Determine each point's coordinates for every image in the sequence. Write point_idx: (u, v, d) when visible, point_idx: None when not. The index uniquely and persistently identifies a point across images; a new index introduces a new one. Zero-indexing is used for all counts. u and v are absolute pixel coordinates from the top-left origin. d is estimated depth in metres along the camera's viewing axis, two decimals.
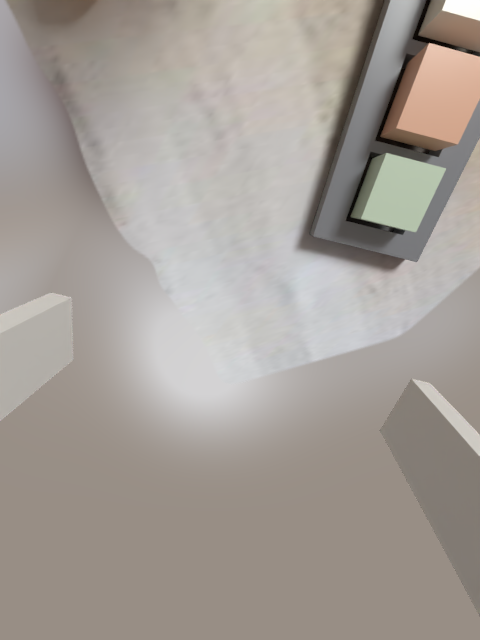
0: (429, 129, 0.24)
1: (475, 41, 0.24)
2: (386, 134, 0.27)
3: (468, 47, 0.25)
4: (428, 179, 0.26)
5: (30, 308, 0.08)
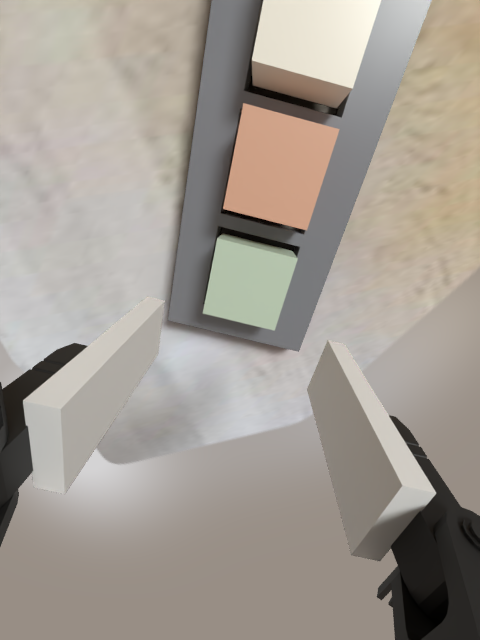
0: (266, 211, 0.18)
1: (321, 97, 0.18)
2: None
3: (319, 102, 0.18)
4: (277, 270, 0.20)
5: (142, 310, 0.10)
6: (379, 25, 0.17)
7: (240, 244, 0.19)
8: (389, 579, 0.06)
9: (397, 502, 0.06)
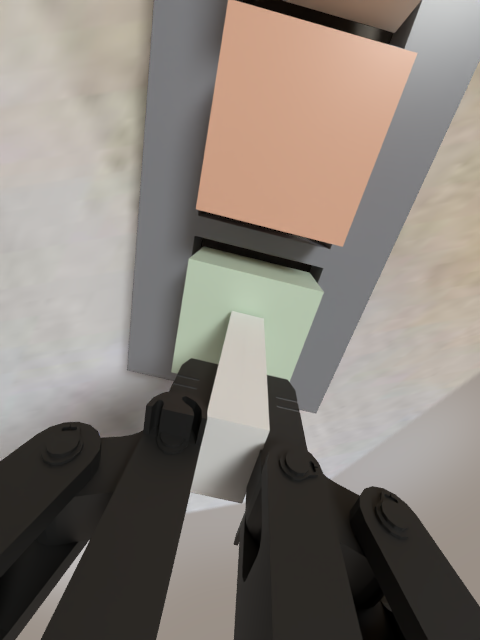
0: (272, 214, 0.10)
1: (374, 3, 0.10)
2: None
3: (366, 20, 0.10)
4: (289, 310, 0.12)
5: (236, 325, 0.11)
6: None
7: (228, 268, 0.12)
8: (240, 525, 0.07)
9: (239, 441, 0.06)
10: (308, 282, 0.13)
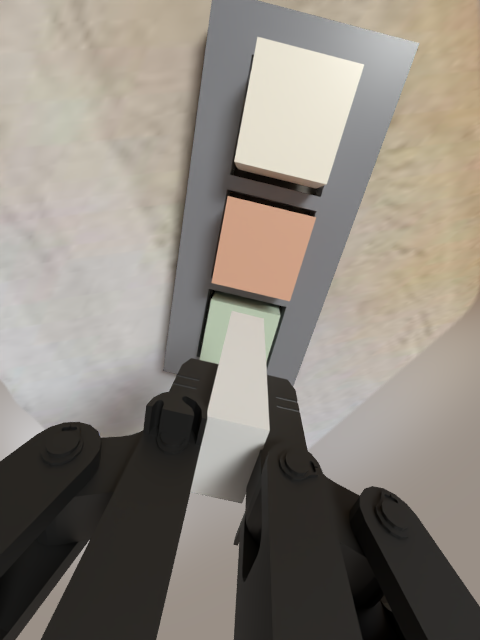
0: (251, 285, 0.20)
1: (300, 182, 0.19)
2: None
3: (299, 184, 0.20)
4: None
5: (236, 325, 0.11)
6: (351, 121, 0.18)
7: (231, 304, 0.23)
8: (240, 525, 0.07)
9: (239, 441, 0.06)
10: (274, 310, 0.24)
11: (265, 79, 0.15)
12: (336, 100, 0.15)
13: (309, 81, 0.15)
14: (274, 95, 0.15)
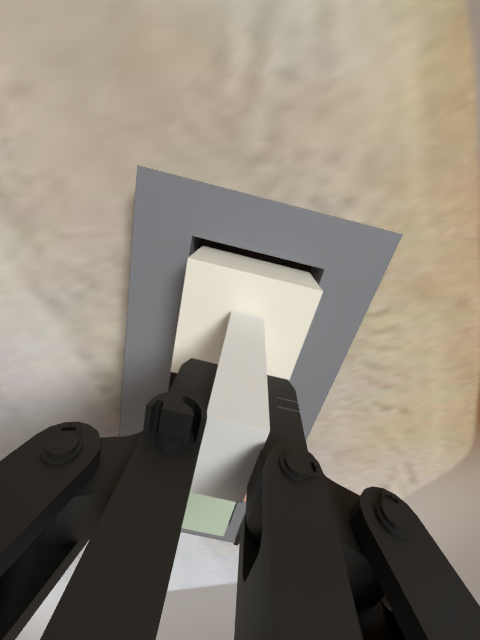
0: None
1: None
2: None
3: None
4: None
5: (236, 325, 0.11)
6: (319, 307, 0.15)
7: None
8: (240, 525, 0.07)
9: (239, 441, 0.06)
10: None
11: (200, 299, 0.12)
12: (290, 323, 0.12)
13: (256, 304, 0.12)
14: (214, 314, 0.12)
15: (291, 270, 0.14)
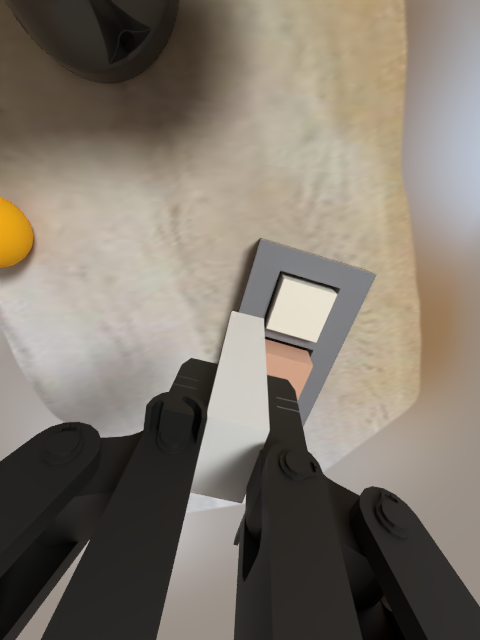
0: None
1: None
2: None
3: None
4: None
5: (236, 325, 0.11)
6: (337, 306, 0.30)
7: None
8: (240, 525, 0.07)
9: (239, 441, 0.06)
10: None
11: (286, 295, 0.29)
12: (322, 307, 0.29)
13: (309, 298, 0.29)
14: (291, 302, 0.29)
15: (322, 285, 0.31)
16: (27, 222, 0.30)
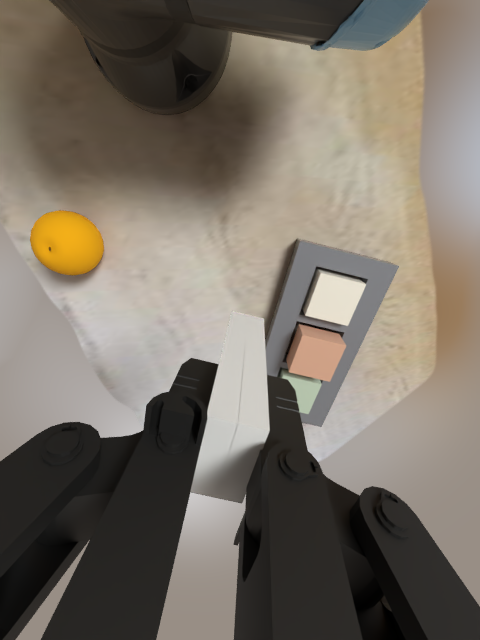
0: (310, 374, 0.37)
1: None
2: None
3: None
4: (311, 389, 0.41)
5: (236, 325, 0.11)
6: (365, 294, 0.36)
7: (294, 377, 0.40)
8: (240, 525, 0.07)
9: (239, 441, 0.06)
10: (317, 379, 0.41)
11: (322, 287, 0.34)
12: (353, 295, 0.35)
13: (342, 288, 0.34)
14: (326, 292, 0.35)
15: (351, 276, 0.36)
16: (100, 234, 0.35)
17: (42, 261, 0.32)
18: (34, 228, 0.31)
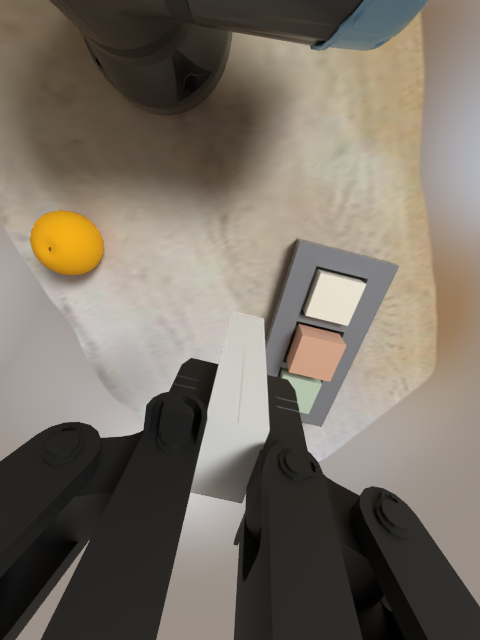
0: (310, 373, 0.37)
1: None
2: (288, 363, 0.40)
3: None
4: (311, 388, 0.41)
5: (236, 325, 0.11)
6: (365, 294, 0.36)
7: (294, 377, 0.40)
8: (240, 525, 0.07)
9: (239, 441, 0.06)
10: (317, 379, 0.41)
11: (322, 287, 0.34)
12: (353, 295, 0.35)
13: (342, 288, 0.34)
14: (326, 292, 0.35)
15: (351, 276, 0.36)
16: (100, 234, 0.35)
17: (42, 261, 0.32)
18: (34, 228, 0.31)
